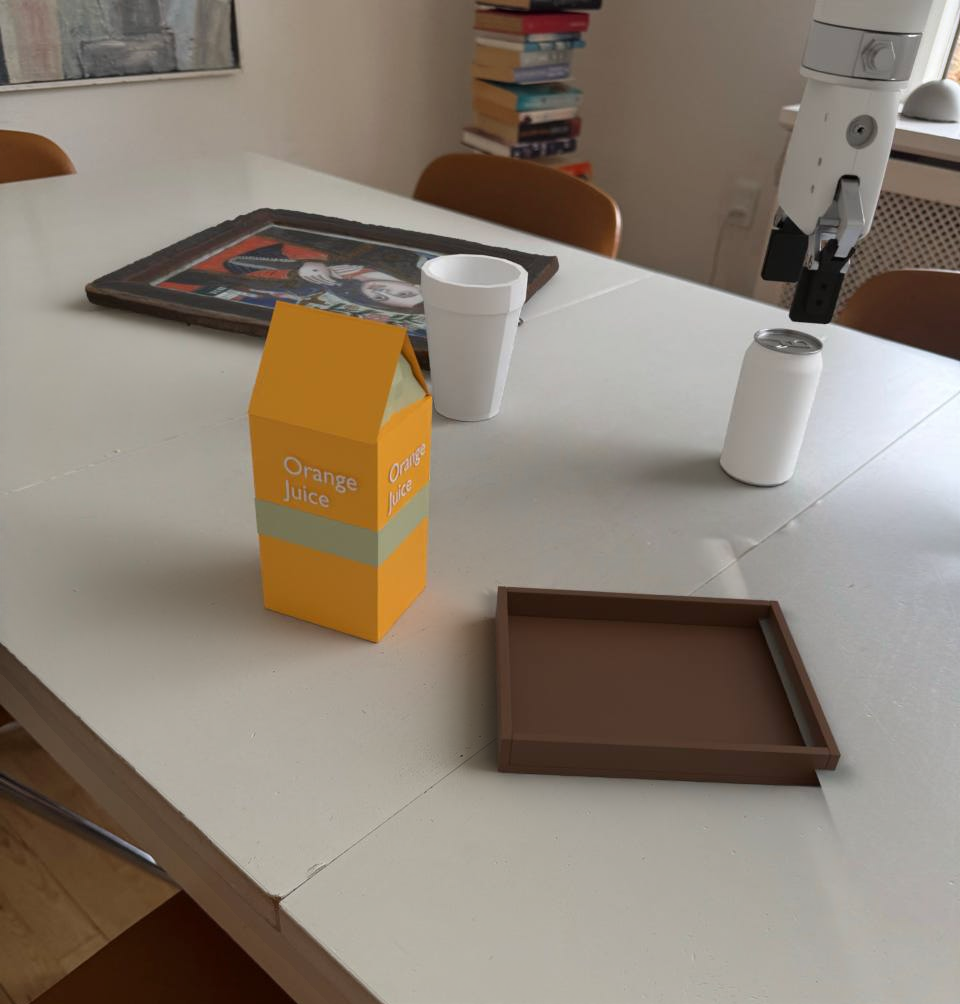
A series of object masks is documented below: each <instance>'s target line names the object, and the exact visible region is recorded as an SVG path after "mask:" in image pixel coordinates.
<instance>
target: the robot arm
mask: <svg viewBox="0 0 960 1004" xmlns="http://www.w3.org/2000/svg"><path fill="white" fill-rule="evenodd" d="M933 3H934V0H815V3H814V9H813V12H812V13H813V14H812V18H811V19H812V20H811V21H810V24H809V25H810V26H809V28H808V29H809V30H808V32H807V38H806V42H805V46H804V50H803V54H802V58H801V62H800V63H801V64H800V67H799V71H798V74H799V75H801V76H802V77H804V78H807V83H806V85H805V89H804V91H803V95H802V97H801V99H800V104H799V108H798V111H797V113H796V118H795V122H794V125H793V128H792V132H791V136H790V139H789V143H788V146H787V150H786V155H785V159H784V162H783V167H782V169H781V170H782V171H781V175H780V180H779V185H778V190H777V191H778V192H777V202H778V205H779V206H778V207H777V210H776V212H775V214H774V216H773V219H772V227H773V228H772V229H770V233H769V238H768V242H767V246H766V250H765V254H764V258H763V261H762V267H761V271H760V277H761V279H762V280H763V281H766V282H777V283H778V282H779V283H792V284H795V283H796V286H795V289H794V293H793V297H792V301H791V305H790V308H789V312H788V318H789V320H790V321H791V322H793V323H803V324H813V325H815V324H816V325H829V324H830V323H831V322H832V319H833V316H834V313H835V310H836V306H837V303H838V300H839V297H840V293H841V290H842V286H843V283H844V279H845V277H846V274H847V272H848V271H849V268H850V266H851V265H850V264H851V258H852V257H853V256H854V255H855V253H856V251H857V248H856V244H857V242H858V240H862V239H864V238H865V237H866V236H867V235H869V232H870V231H871V227H872V225H873V221H874V216H875V213H876V209H877V206H878V201H879V198H880V194H881V190H882V186H883V182H884V178H885V174H886V170H887V166H888V162H889V158H890V155H891V151H892V150H891V149H892V146H893V142H894V141H893V140H894V136H895V131H896V126H897V120H898V116H899V109H900V104H901V103H900V102H901V97H902V96H901V94H902V91H901V90H905V89H907V88H908V86H909V82H910V78H911V75H912V73H913V70H914V65H915V62H916V59H917V56H918V52H919V49H920V46H921V42H922V39H923V35H924V34H923V33H924V32H925V28H926V25H927V22H928V19H929V16H930V12H931V9H932V6H933ZM822 240H823V241H827V242H826V243H825V245H824V246H823V247H822ZM806 255H807V265H806V266H804V264H805V259H806Z"/></svg>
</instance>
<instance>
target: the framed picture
mask: <svg viewBox="0 0 960 1004" xmlns="http://www.w3.org/2000/svg"><path fill="white" fill-rule="evenodd" d="M458 254H468V255H485V256H490V257H496V258H501V259H506V260H508V261H511V262H513V263H516V264H518V265H521V266H522V267H523V268H524V269H525V270H526V271H527V272H528V278H527V289H526V299H525V302H524V304H523V306H524V305H526V303H527V302H529V301H530V299H532V297H533V296H534V295H535V294H536V293H537V292H538V291H539V290H540V289H542V288H543V287H544V286H545V285H546V284H547V283H548V282H550V280H551V279H552V278H553V277H554V276H556V273H557V272H558V271H559V268H560V263H559V259H558V255H545V254H538V253H529V252H525V251H520V250H517V249H510V248H508V247H501V246H492V245H488V244H483V243H481V242H477V241H471V240H466V239H463V238H458V237H457V238H456V237H452V236H445V235H439V234H434V233H426V232H422V231H416V230H411V229H410V230H409V229H405V228H400V227H391V226H385V225H380V224H378V225H376V224H373V223H363V222H361V221H357V220H349V219H347V218H345V219H344V218H343V217H342V218H340V217H338V216H337V217H336V216H328V215H327V216H326V215H323V214H319V213H313V212H312V213H309V212H304V211H299V210H292V209H285V208H275V209H274V208H271V207H261V208H257V209H255V210H252V211H250V212H247V213H246V214H239V215H237V216H236V217H235V218H234V219H226V220H224V221H222V222H220V223H218V224H216V225H215V226H211V227H207V228H205V229H203V230H200V231H199V232H196V233H194V234H192V235H189V236H187V237H186V238H183V239H181V240H178V241H177V242H175V243H172V244H170V245H168V246H166V247H164V248H161V249H159V250H156V251H154V252H153V253H151V254H149V255H147V256H145V257H141V258H139V259H136V260H135V261H134V262H132V263H129V264H126V265H124V266H122V267H121V268H120V267H119V268H118V269H116V270H114V271H111V272H108V273H107V274H104V275H102V276H101V277H98V278H95V279H94V280H93V281H91V282H88V283H87V284H86V285H85V286H84V291H85V295H86V298H87V300H88V302H89V304H93V305H96V306H99V307H104V308H108V309H113V310H118V311H123V312H126V313H131V314H132V313H133V314H137V315H142V316H147V317H152V318H157V319H162V320H167V321H170V322H171V321H173V322H175V323H176V322H177V323H181V324H185V325H186V326H187V327H191V326H198V327H202V328H207V329H212V330H217V331H222V332H227V333H235V334H240V335H247V336H250V337H251V336H252V337H257V338H262V339H265V340H266V339H267V335H268V331H269V327H270V324H271V320H272V316H273V312H274V308H275V304H276V300H278V301H283V302H287V303H292V304H297V305H301V306H306V307H311V308H315V309H320V310H325V311H330V312H334V313H339V314H344V315H348V316H353V317H358V318H362V319H367V320H372V321H376V322H381V323H386V324H390V325H395V326H400V327H404V328H407V330H406V332H407V335H408V337H409V340H410V343H411V345H412V348H413V351H414V353H415V356H416V359H417V361H418V364H419V367H420V369H421V371H427V372H429V371H430V372H431V370H430V360H429V350H428V340H427V330H426V320H425V310H424V300H423V297H422V296H421V268H422V266H423V265H424V264H425V262H426V261H428V260H431V259H434V258H437V257H440V256H448V255H458ZM523 324H524V320H523V319H522V318H521V316H520V317H519V322H518V325H523Z"/></svg>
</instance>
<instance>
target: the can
mask: <svg viewBox="0 0 960 1004" xmlns="http://www.w3.org/2000/svg"><path fill="white" fill-rule="evenodd" d="M823 349H824V344H823V341H821V340H820V339H819V338H817V337H816V336H815V335H812V334H809V333H807V332H803V331H799V330H796V329H791V328H782V327H769V328H763V329H759V330H757V331H756V332H755V333H754V334H753V340H752V342H751V343H750V344H749V346H748V347H747V348H746V349H745V352H744V354H743V359H742V363H741V368H740V370H739V371H740V372H739V376H738V380H737V384H736V388H735V393H734V397H733V402H732V405H731V409H730V415H729V419H728V423H727V428H726V432H725V436H724V441H723V445H722V450H721V454H720V460H719V463H720V467H722V470H723V471H724V472H725V474H727V476H728V477H730V478H732V479H734V480H735V481H737V482H740V483H743V484H747V485H750V486H756V487H776V486H780V485H783V484H784V483H786V482H787V481H788V480H790V479H791V478H792V477H793V476H794V475H793V474H794V471H795V468H796V465H797V462H798V458H799V454H800V451H801V447H802V444H803V440H804V436H805V433H806V431H807V430H806V429H807V426H808V423H809V419H810V415H811V412H812V408H813V405H814V401H815V397H816V394H817V390H818V386H819V383H820V380H821V375H822V372H823V368H824V361H823V356H822V350H823Z"/></svg>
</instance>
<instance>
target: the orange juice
mask: <svg viewBox="0 0 960 1004" xmlns="http://www.w3.org/2000/svg"><path fill="white" fill-rule="evenodd" d="M406 330H407V328H404V327H400V326H395V325H390V324H386V323H381V322H376V321H372V320H367V319H362V318H358V317H353V316H348V315H344V314H339V313H334V312H330V311H325V310H320V309H315V308H311V307H306V306H301V305H297V304H292V303H287V302H283V301H278V300H276V304H275V308H274V312H273V316H272V320H271V324H270V327H269V331H268V335H267V339H266V338H265V343H264V347H263V350H262V355H261V358H260V362H259V366H258V370H257V374H256V378H255V381H254V386H253V390H252V393H251V397H250V401H249V404H248V408H247V412H246V414H247V415H248V427H249V438H250V451H251V452H250V453H251V461H252V472H253V473H252V474H253V475H252V476H253V483H254V484H253V487H254V508H255V520H256V521H255V522H256V532H257V534H258V545H259V557H260V569H261V571H260V572H261V582H262V593H263V605H264V609H267V610H269V611H272V612H277V613H279V614H283V615H286V616H289V617H292V618H296V619H299V620H302V621H306V622H308V623H311V624H315V625H319V626H321V627H324V628H327V629H331V630H334V631H338V632H340V633H344V634H347V635H351V636H354V637H356V638H360V639H362V640H366V641H370V642H373V643H376V644H378V643H379V642H381V640H382V639H383V638H384V636H385V635H387V633H388V632H389V631H390V630H391V628H392V627H393V626H394V625H395V624H396V622H397V621H399V619H400V618H401V617H402V615H404V613H405V612H406V611H407V610H408V608H410V606H411V605H412V604H413V602H414V601H415V600H416V599H417V598H418V597H419V595H420V594H421V593H422V592H423V591H424V590H425V589H426V587H427V564H428V562H427V561H428V537H429V536H428V535H429V534H428V533H429V515H430V503H431V502H430V501H431V500H430V498H431V497H430V496H431V479H430V476H431V475H430V474H431V470H430V469H431V447H432V445H431V444H432V421H433V420H432V417H433V395H431V394H430V391H429V389H428V386H427V382H426V381H425V377H424V375H423V372H422V369H420V367H419V364H418V361H417V359H416V356H415V353H414V351H413V348H412V345H411V343H410V340H409V337H408V335H407V332H406Z"/></svg>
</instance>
